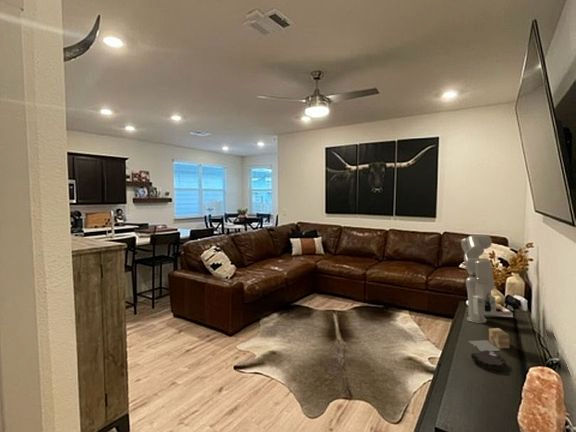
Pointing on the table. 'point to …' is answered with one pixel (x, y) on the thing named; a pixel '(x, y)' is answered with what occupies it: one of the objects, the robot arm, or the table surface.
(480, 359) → the rock sample
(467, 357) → the table surface
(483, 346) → the grey mat
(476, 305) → the light bulb box
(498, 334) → the tan block
